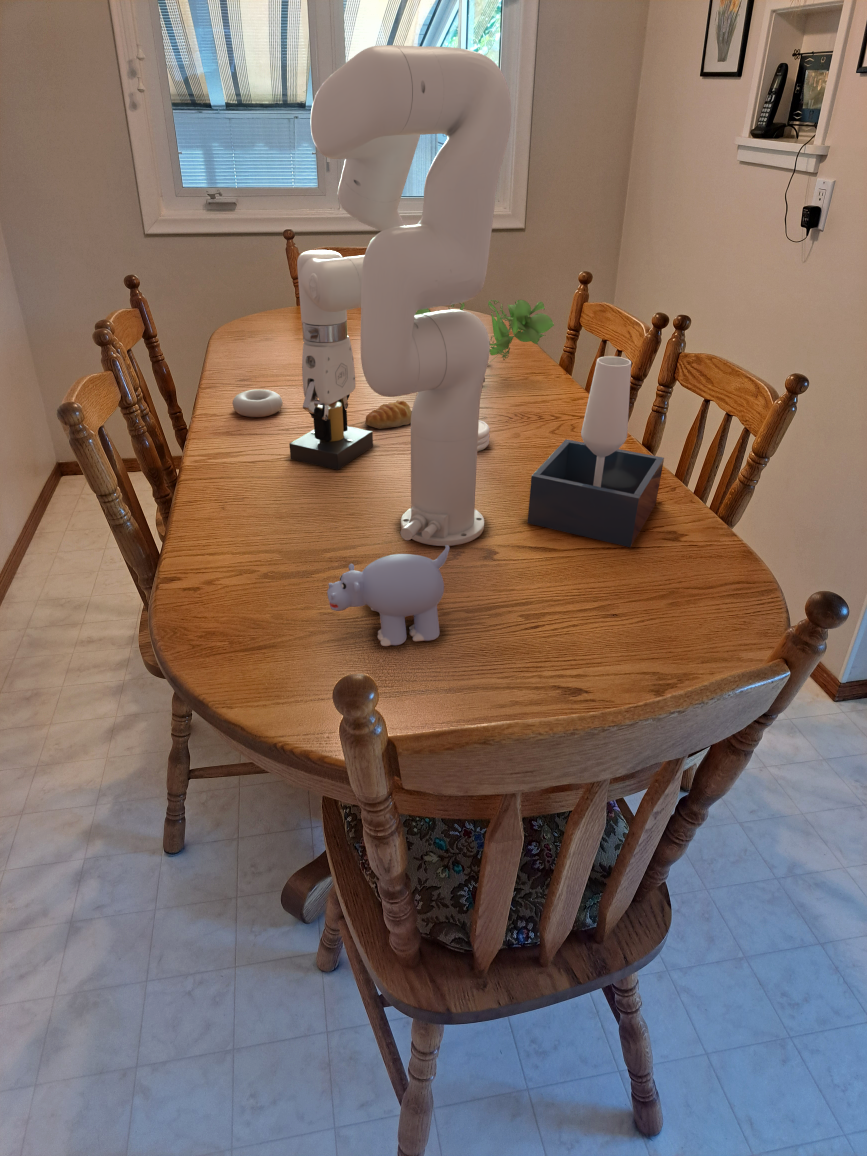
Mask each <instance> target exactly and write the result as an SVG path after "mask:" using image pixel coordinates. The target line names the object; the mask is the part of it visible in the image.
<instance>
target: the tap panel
mask: <svg viewBox="0 0 867 1156" xmlns="http://www.w3.org/2000/svg"><path fill="white" fill-rule="evenodd" d="M347 427H348V430H347V431H345V432H344V438H343V439H341V440H339V441H332V442H328V441H323V440H319V439H316V438H315V432H314V429H312V430H310V431H308V432H307V433H305V434H303V435H301V436H299V437H298V438H296V439H295V440H293V441H291V442H289V444H288V445H289V457H290V460H292V461H297V462H301V463H306V464H309V465H314V466H319V467H323V468H327V469H332V470H336V471H339V470H341V469H342V468H344V467H345V466H346V465H349V464H350V463H351V462H352V461H354V460H355V459H357V458H359V457H360V456H361V455H362V454H364V453H366V452H367V451H369V450H370V449H371V448H373V447H374V434H373V433H374V432H373V430H368V429H364V428H358V427H354V426H348V425H347Z"/></svg>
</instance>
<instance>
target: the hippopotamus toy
mask: <svg viewBox="0 0 867 1156" xmlns="http://www.w3.org/2000/svg"><path fill="white" fill-rule="evenodd" d="M450 547H451V546H448V545H446V546H445V548H444V550H443V551H442V552H441V553H440V554H439V555H438V556H437V558H435V559H431V558H429V557H428V556H424V555H419V554H413V553H412V554H411V553H393V554H389V555H385V556H382V557H379V558H377V559H376V560H374V561H372V562H369V564H367V565H366V566H365V567H364V569H362V571H360V570H356V569H355V565H354V564H353V563H350V564H349V565H348V571H346V572H343V573H342V574H341V575H340V576H339V580H338V581H335V582H329V583H328V589H327V591H326V594H327V598H328V604H329V608H330V609H331V610H332V611H334V612H341V611H345V610H347V609H349V608H359V607H364V606H368V608H370V610H371V611H373V612H377V613H379V619H380V620H379V621H380V629H379V630H378V631H377V639H378V641H380V645H381V646H383V647H389V646H400V645H402V644H403V643H405V642H406V641H407V625H406V617H409V616H410V617H411V616H413V624H412V625H410V626H409V627H408V629H409V635H410V637H412V641H413V642H423V641H425V642H429V641H435V640H436V639H438V638H439V636H440V632H441V631H440V623H439V613H438V612H439V611H438V604H439V603H440V602H441V601H442V599H443V596H444V593H445V582H444V579H443V575H442V572H441V570H440V569H441V568H442V567H443V566H444V564H445V563H446V561H447V559H448V556H449V552H450V549H451V548H450Z"/></svg>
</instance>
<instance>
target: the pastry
mask: <svg viewBox="0 0 867 1156" xmlns="http://www.w3.org/2000/svg"><path fill="white" fill-rule="evenodd" d="M411 413H412V409H411V408H410V404H409V403H408V402H407V401H405V400H396V401H395V402H388V403H382V404H381V405H380V406H379V407H377V408H376V409H373V410H371V411H370V412H369V413H368V414H367V415H366V416H365V422H364V423H365V425H367V426H369V427H372V428H375V429H378V430H380V429H381V430H384V429H391V428H398V427H401V426H408V425H409V424H410V425H411Z"/></svg>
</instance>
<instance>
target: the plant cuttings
mask: <svg viewBox="0 0 867 1156" xmlns="http://www.w3.org/2000/svg"><path fill="white" fill-rule="evenodd" d="M492 302H493V303H492ZM499 303H500V301H499V300H498V299H490V300H488V303H487V304H488V308H489V309H490V310H491V311H492V312H494V313H495V315H496V318H495V316H494V314H493V313H492V312H491V313H490V314H491V323H492V331H493V332H492V333H493V335H491V336H490V338H489V341H490V342H491V343H490V353H489V356H495V357H494V358H493V359H492V360H491V361H488V365H489V364H490V363H491V362H493V361H494V360H495V359H496V358H497V357H498V356H499V355H501V358H502V361H505V360H506V359H508V358H509V355H510V351H511V347H510V345H511V344H512V343H513V339H514V338H515V339H517V340H518V341H519V342H522V343H530V342H531V343H532V344H535V345H539V341H540V340H541V338H543V337H545V336H546V334H544V333H546V332H548V331H549V330H550V329H552V328H553V327H554V326H555V324H554V322H553V320H552V318H551V317H550V316H549V315H547V314H545V313H542V312H541V313H536V314H534V313H535V312H537V311H540V310H545V304H544V302H543V301H538V302H537V303H536V304H535V306H533V308H532V307H531V305H530V303H529V302H528V301H526V300H525V299H517V300H516V301H514V304H507V308H508V312H509V315H510V316H508V315H507V313H506V312H505V311H504V306H503V303H500V306H499V309H500V310H498V309H497V308H496V307H495V305H497V304H499ZM458 304H460V307H459V310H463V311H464V308H465V307H466V304H465V302H462V303H458ZM450 306H451V308H455V304H452V305H450ZM450 306H448V310H451V309H450ZM437 311H440V309H438V310H437ZM430 312H432V311H431V310H430V308H427V309H421V310H417V311H416V314H415V315H418V314H423V313H430ZM500 312H501V314H500ZM532 314H534V315H532ZM531 315H532V316H531ZM506 321H508V327H509V328H508V327H507V325H506V323H505V322H506ZM510 332H512V335H510ZM493 337H494V340H493ZM483 383H486V376H485V377H484V381H483Z"/></svg>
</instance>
